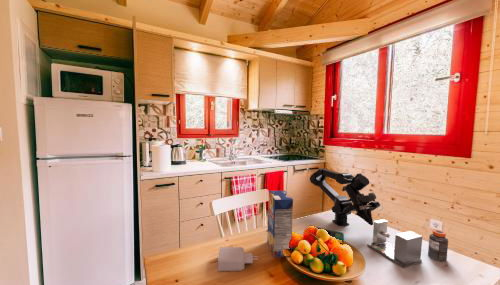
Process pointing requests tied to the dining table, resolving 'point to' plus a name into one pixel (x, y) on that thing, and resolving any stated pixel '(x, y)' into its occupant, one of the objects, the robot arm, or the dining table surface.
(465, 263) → the dining table surface
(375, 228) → the white upright block
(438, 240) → the pill bottle
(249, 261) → the charger
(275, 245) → the juice carton
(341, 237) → the digital multimeter
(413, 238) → the base
